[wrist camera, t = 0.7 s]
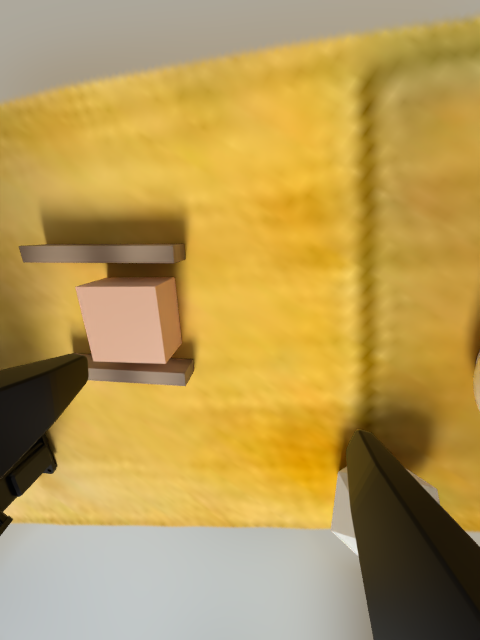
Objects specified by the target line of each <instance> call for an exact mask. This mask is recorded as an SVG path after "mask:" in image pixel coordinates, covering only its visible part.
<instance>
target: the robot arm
mask: <svg viewBox="0 0 480 640" xmlns="http://www.w3.org/2000/svg"><path fill="white" fill-rule="evenodd" d="M88 377H89V371H88V359H87V357H86V356H84V355H81V354H77V353H72V354H67V355H63V356H59V357H55V358H51V359H46V360H42V361H38V362H34V363H30V364H25V365H21V366H17V367H13V368H9V369H4V370H0V536H1V534H2V533H3V532H4V530H5V529H6V528H7V527H8V525H9V524H10V523H11V522H12V520H13V518H11V517H10V516H7V515H6V514H4V513H3V511H4V510H5V509H6V508H7V507H8V506H9V505H10V504H11V503H12V502H13V501H14V500H15V499H16V498H17V497H20V496H21V495H22V494H23V493H24V492H25V491H26V490H27V489H28V488H29V487H30V486H31V485H32V484H33V483H34V482H35V481H36V480H37V478H38V477H39V476H40V475H41V474H42V473H48V474H52V473H54V471H55V470H56V466H55V463H54V460H53V457H52V454H51V451H50V448H49V445H48V442H47V439H46V435H45V432H46V431H47V430H48V429H49V428H50V427H51V426H52V424H53V423H54V422H55V421H56V420H57V419H58V418H59V416H60V415H61V414H62V413H63V412H64V410H65V409H66V408H67V406H68V405H69V404H70V403H71V401H72V400H73V399H74V398H75V396H76V395H77V394H78V393H79V391H80V390H81V389H82V388H83V386H84V385H85V384H86V382H87V380H88ZM346 462H347V475H348V488H349V501H350V510H351V516H352V522H353V528H354V533H355V539H356V544H357V550H358V555H359V561H360V566H361V572H362V578H363V583H364V589H365V594H366V600H367V605H368V611H369V616H370V622H371V628H372V633H373V639H374V640H480V547H479V546H478V545H477V544H476V542H475V541H474V540H473V539H472V538H471V537H470V536H469V535H468V534H467V533H466V532H465V531H464V530H463V529H462V528H461V527H460V526H459V524H458V523H457V522H456V521H455V520H454V519H453V518H452V517H451V516H450V515H449V514H448V513H447V512H446V511H445V510H444V509H443V508H442V506H441V505H440V504H439V503H438V502H437V501H436V500H435V499H434V498H433V497H432V496H431V495H430V494H429V493H428V492H427V491H426V490H425V489H424V487H423V486H422V485H421V484H420V483H419V482H418V481H417V480H416V479H415V478H414V477H413V476H412V475H411V474H410V473H409V472H408V471H407V469H406V468H405V467H404V466H403V465H402V464H401V463H400V462H399V461H398V460H397V459H396V458H395V457H394V456H393V455H392V454H391V453H390V451H389V450H388V449H387V448H386V447H385V446H384V445H383V444H382V443H381V442H380V441H379V440H378V439H377V438H376V437H375V436H374V435H373V434H372V433H371V432H368V431H365V430H361V429H357V430H356V431H355V432H354V434H353V436H352V438H351V440H350V442H349V445H348V447H347V450H346Z"/></svg>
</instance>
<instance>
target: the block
mask: <svg viewBox="0 0 480 640" xmlns="http://www.w3.org/2000/svg"><path fill="white" fill-rule="evenodd" d="M76 291H77V296H78V300H79V304H80V308H81V312H82V316H83V320H84V325H85V329H86V333H87V337H88V341H89V345H90V350H91V354H92V358H93V361H98V362H127V363H157V364H166V363H167V362H168V360H169V359H170V358H171V356H172V355H173V354H174V353H175V351H176V350H177V349H178V348H179V346H180V345H181V344H182V339H181V330H180V321H179V312H178V303H177V294H176V285H175V277H119V278H104V279H101V280H97V281H94V282H90V283H87V284H84V285H80V286H77V287H76Z"/></svg>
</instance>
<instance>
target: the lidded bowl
mask: <svg viewBox="0 0 480 640" xmlns="http://www.w3.org/2000/svg"><path fill="white" fill-rule="evenodd" d="M473 389H474V396H475V401H476V404H477V406H478V409H479V411H480V351H479V353H478V356H477V360H476V367H475V372H474V376H473Z"/></svg>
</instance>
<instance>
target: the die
mask: <svg viewBox="0 0 480 640" xmlns="http://www.w3.org/2000/svg"><path fill="white" fill-rule="evenodd" d="M407 471H408V472H409V473H410V474H411V475H412V476H413V477H414V478H415V479H416V480H417V481H418V482H419V483H420V484H421V485H422V486H423V487H424V489H425V490H426V491H427V492H428V493H429V494H430V495H431V496H432V497H433V498H434V499H435V500H436V501H437V502H438V503H439V504H440V502H439V497H438V492H437V489H436V488H435V487H433V486H432V485H430V484H429V483H427V482H426V481H424V480H423V479H421V478H420V477H418V476H417V475H415V474H414V473H412V472H411V471H409V470H408V469H407ZM331 531H332V532H333V533H334V534H335V535H336V536H337V537H338V538H339V539H340V540H342V541H343V542H344V543H345V544H346V545H347V546H348V547H349V548H350V549H351V550H352V551H353V552H354V553H355V554H357V556H359V555H358V550H357V544H356V539H355V533H354V528H353V522H352V516H351V510H350V501H349V488H348V475H347V467H345V468H343V469H342V470H340V471H339V472H338V478H337V486H336V494H335V501H334V509H333V517H332V525H331Z"/></svg>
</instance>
